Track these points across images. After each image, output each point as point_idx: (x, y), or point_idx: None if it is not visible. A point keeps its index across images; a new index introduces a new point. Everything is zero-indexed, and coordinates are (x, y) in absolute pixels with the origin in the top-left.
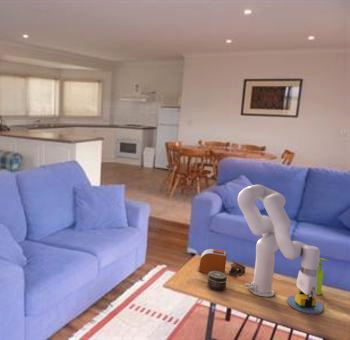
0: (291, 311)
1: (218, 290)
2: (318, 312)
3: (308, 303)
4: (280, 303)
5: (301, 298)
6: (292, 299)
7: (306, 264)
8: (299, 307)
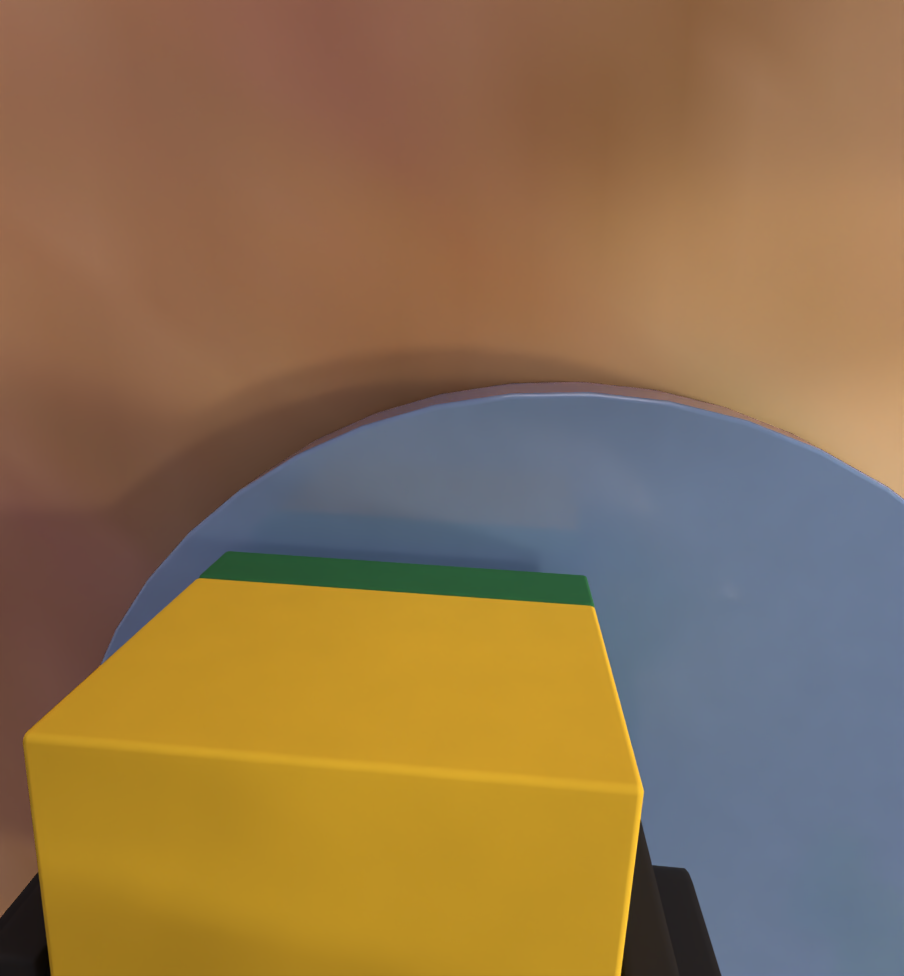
0: (182, 192)
1: None
2: None
3: (29, 888)
4: (730, 84)
5: (88, 800)
6: (832, 653)
7: None
8: (284, 554)
